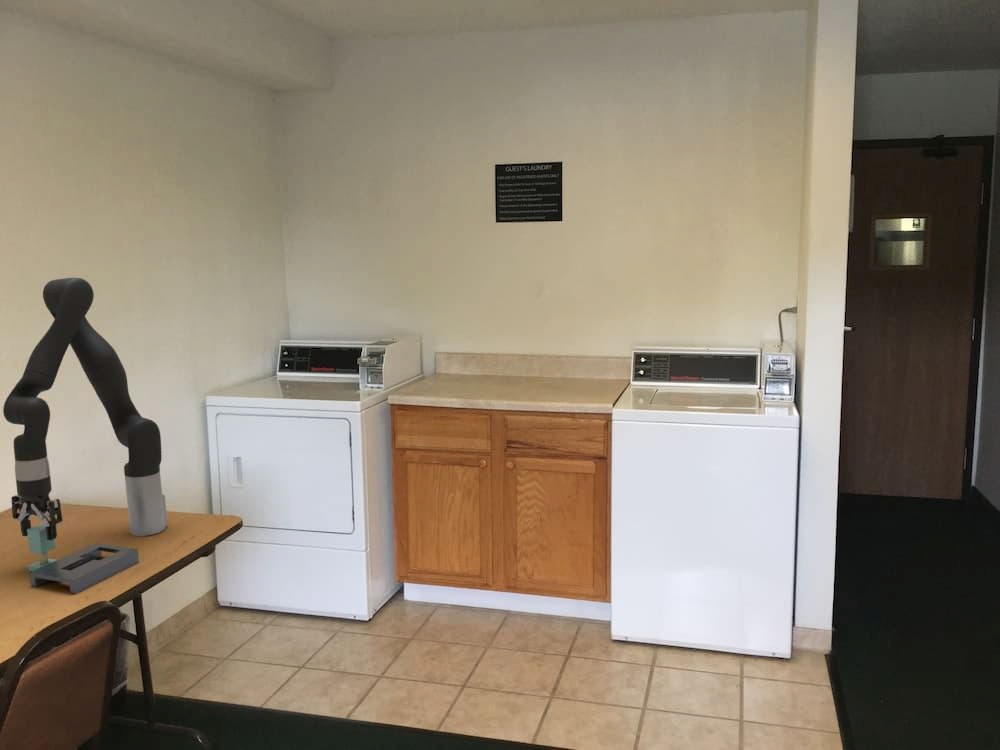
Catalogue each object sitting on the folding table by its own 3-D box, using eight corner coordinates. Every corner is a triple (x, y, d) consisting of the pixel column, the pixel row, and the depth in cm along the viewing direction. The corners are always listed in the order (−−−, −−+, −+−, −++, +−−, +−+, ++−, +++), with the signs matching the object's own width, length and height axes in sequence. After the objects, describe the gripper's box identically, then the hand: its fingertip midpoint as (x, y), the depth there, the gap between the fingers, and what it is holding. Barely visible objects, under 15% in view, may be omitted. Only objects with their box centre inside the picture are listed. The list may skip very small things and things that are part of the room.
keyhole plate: (97, 555, 217) (96, 542, 216) (139, 561, 212) (137, 549, 212) (31, 586, 199) (29, 572, 198) (75, 594, 194) (73, 580, 193)
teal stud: (45, 563, 212) (41, 523, 210) (60, 566, 210) (55, 525, 208) (28, 571, 208) (23, 529, 206) (43, 573, 206) (38, 532, 204)
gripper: (67, 474, 206) (72, 535, 208) (25, 468, 211) (31, 529, 213) (40, 482, 199) (47, 546, 201) (-2, 476, 204) (5, 538, 206)
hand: (39, 537), depth 207 cm, fingers open, 8 cm apart
